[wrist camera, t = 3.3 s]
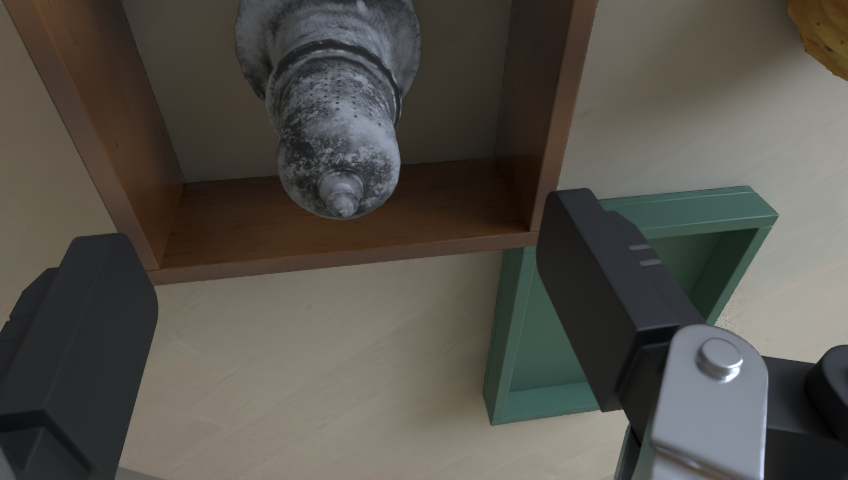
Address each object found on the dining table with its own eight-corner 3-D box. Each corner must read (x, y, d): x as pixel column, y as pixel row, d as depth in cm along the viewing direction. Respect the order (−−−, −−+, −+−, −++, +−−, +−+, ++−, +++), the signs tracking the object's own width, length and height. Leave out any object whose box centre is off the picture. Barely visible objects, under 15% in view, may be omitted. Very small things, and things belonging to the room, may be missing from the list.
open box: (-19, -294, 13) (-161, -319, 9) (570, -280, 15) (664, -295, 11) (172, 198, 24) (144, 287, 20) (508, 169, 26) (545, 245, 22)
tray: (510, 207, 27) (525, 241, 25) (749, 185, 29) (780, 214, 27) (482, 393, 39) (490, 426, 37) (653, 370, 41) (670, 399, 39)
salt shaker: (310, 111, 22) (311, 344, 13) (207, -18, 18) (112, 186, 9) (434, 37, 21) (524, 239, 12) (351, -118, 17) (395, 10, 8)
